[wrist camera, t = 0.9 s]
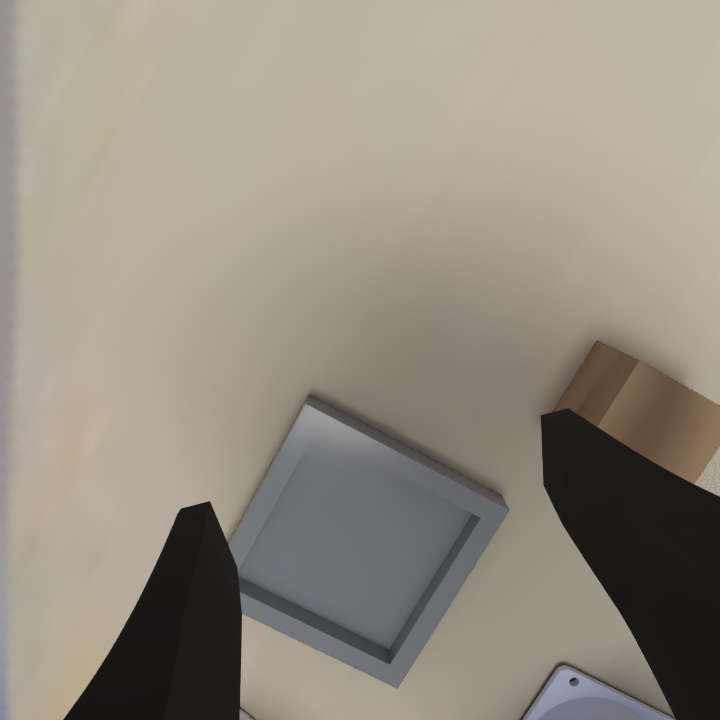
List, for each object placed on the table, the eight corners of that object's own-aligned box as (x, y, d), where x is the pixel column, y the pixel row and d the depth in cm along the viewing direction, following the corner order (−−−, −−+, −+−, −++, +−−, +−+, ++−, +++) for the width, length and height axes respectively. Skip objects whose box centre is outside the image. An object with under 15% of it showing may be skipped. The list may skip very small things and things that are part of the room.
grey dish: (501, 495, 33) (509, 510, 32) (395, 665, 35) (397, 688, 33) (308, 394, 32) (305, 404, 31) (210, 575, 34) (202, 594, 32)
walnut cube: (682, 388, 32) (739, 416, 28) (626, 473, 33) (672, 515, 28) (596, 340, 32) (639, 360, 27) (542, 427, 33) (574, 462, 28)
